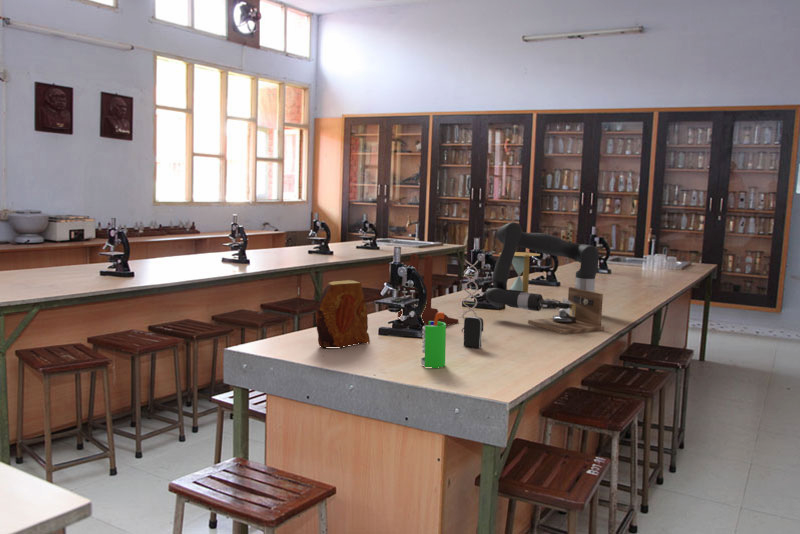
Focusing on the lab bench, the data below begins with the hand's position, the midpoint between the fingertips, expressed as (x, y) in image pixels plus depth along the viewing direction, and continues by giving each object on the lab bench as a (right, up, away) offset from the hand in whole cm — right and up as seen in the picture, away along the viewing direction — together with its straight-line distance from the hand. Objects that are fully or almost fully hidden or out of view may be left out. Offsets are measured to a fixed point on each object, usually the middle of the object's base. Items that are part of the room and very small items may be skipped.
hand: (568, 306), depth 302 cm
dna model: (-44, -10, -11) cm, 46 cm away
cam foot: (+1, -8, +6) cm, 9 cm away
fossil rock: (-94, -12, -41) cm, 103 cm away
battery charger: (-44, -13, -37) cm, 60 cm away
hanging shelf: (-59, -7, +12) cm, 61 cm away
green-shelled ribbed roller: (-61, -16, -66) cm, 91 cm away
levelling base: (0, -9, +6) cm, 11 cm away
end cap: (-12, -2, +66) cm, 67 cm away
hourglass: (-8, -1, +81) cm, 81 cm away
